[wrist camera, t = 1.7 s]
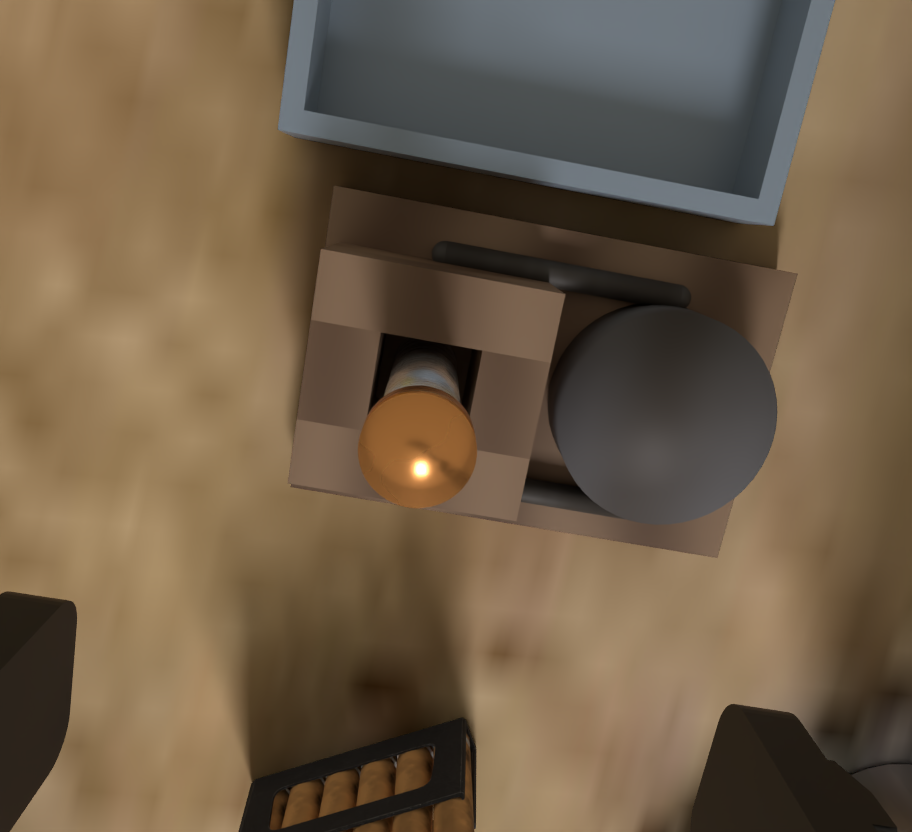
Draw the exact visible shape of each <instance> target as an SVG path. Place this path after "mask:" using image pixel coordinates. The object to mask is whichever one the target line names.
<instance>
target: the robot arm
mask: <svg viewBox="0 0 912 832" xmlns="http://www.w3.org/2000/svg"><path fill="white" fill-rule="evenodd" d="M76 627H77V611H76V607H75V604H74V603H73V602H72V601H68V600H62V599H55V598H49V597H42V596H35V595H29V594H22V593H16V592H4V593H2V594H1V595H0V832H10V830H11V829H12V827H13V826H14V824H15V823H16V822H17V820H18V819H19V817H20V816H21V814H22V813H23V811H24V810H25V808H26V807H27V805H28V804H29V803H30V801H31V800H32V798H33V797H34V795H35V794H36V792H37V791H38V789H39V788H40V786H41V785H42V783H43V782H44V781H45V779H46V778H47V776H48V775H49V773H50V771H51V770H52V768H53V766H54V764H55V762H56V760H57V758H58V756H59V753H60V751H61V748H62V745H63V742H64V739H65V735H66V731H67V727H68V722H69V715H70V704H71V691H72V678H73V665H74V652H75V640H76ZM690 832H912V765H910V764H889V765H883V766H878V767H873V768H868V769H865V770H863V771H860V772H858V773H855V774H853V775H850V774H849V773H848V772H847V771H845V770H844V769H843V768H842V767H841V766H839V765H838V764H837V763H836V762H835V761H830V760H827V759H826V758H825V756H824V755H823V753H822V752H821V751H820V749H819V748H818V746H817V745H816V743H815V742H814V741H813V739H812V738H811V736H810V735H809V733H808V732H807V730H806V729H805V728H804V726H803V725H802V723H801V722H800V720H799V719H798V718H797V717H796V716H795V715H794V714H792V713H789V712H783V711H776V710H770V709H763V708H757V707H750V706H744V705H737V704H731V705H729V706H727V707H726V708H725V710H724V711H723V713H722V715H721V717H720V719H719V722H718V725H717V729H716V732H715V735H714V739H713V742H712V746H711V749H710V752H709V756H708V759H707V762H706V766H705V769H704V772H703V776H702V779H701V782H700V786H699V789H698V793H697V796H696V799H695V803H694V806H693V810H692V816H691V831H690Z"/></svg>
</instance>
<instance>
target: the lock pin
mask: <svg viewBox="0 0 912 832" xmlns="http://www.w3.org/2000/svg"><path fill="white" fill-rule="evenodd" d="M358 459H359V464H360V467H361V470H362V473H363V475H364V477H365V479H366V480H367V482H368V483H369V485H370V486H371V487H372V488H373V489H374V490H375V491H376V492H377V493H378V494H379V495H380V496H382V497H383V498H385V499H386V500H388V501H390V502H392V503H394V504H397V505H400V506H404V507H410V508H426V507H432V506H435V505H439V504H441V503H443V502H446V501H447V500H449V499H451V498H452V497H454V496H455V495H456V494H458V493H459V492H460V491H461V490H462V489H463V487H464V486H465V485H466V484H467V482H468V481H469V479H470V477H471V475H472V473H473V471H474V468H475V464H476V459H477V444H476V437H475V431H474V427H473V423H472V421H471V418H470V416H469V414H468V413H467V411H466V409H465V408H464V407H463V406H462V404H461V403H460V395H459V386H458V376H457V367H456V358H455V354H454V351H453V349H452V348H451V346H450V345H449V344H443V343H438V342H432V341H426V340H421V339H415V338H410V337H409V338H407V339H406V340H405V341H404V342H403V343H402V344H401V345H400V347H399V349H398V350H397V353H396V356H395V360H394V363H393V366H392V370H391V373H390V377H389V380H388V384H387V387H386V391H385V394H384V397H382V398H381V399H380V400H379V401H378V402H377V403H376V404H375V405H374V406H373V407H372V409H371V410H370V412H369V414H368V415H367V417H366V420H365V422H364V425H363V428H362V431H361V434H360V437H359V442H358Z"/></svg>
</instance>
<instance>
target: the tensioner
mask: <svg viewBox="0 0 912 832" xmlns="http://www.w3.org/2000/svg"><path fill="white" fill-rule="evenodd" d="M796 278H797V274H796V273H791V272H786V271H781V270H776V269H770V268H765V267H760V266H755V265H749V264H744V263H739V262H734V261H728V260H723V259H718V258H713V257H707V256H702V255H697V254H692V253H686V252H681V251H676V250H670V249H665V248H660V247H655V246H649V245H644V244H639V243H634V242H628V241H623V240H618V239H613V238H607V237H602V236H597V235H592V234H586V233H581V232H576V231H571V230H565V229H560V228H555V227H550V226H544V225H539V224H534V223H529V222H523V221H518V220H513V219H508V218H502V217H497V216H492V215H487V214H481V213H476V212H471V211H466V210H460V209H455V208H450V207H445V206H439V205H434V204H429V203H424V202H418V201H413V200H408V199H403V198H397V197H392V196H387V195H382V194H376V193H371V192H366V191H361V190H355V189H350V188H345V187H340V186H334V188H333V195H332V202H331V209H330V216H329V223H328V230H327V237H326V244H325V248H322V249H321V252H320V259H319V266H318V273H317V280H316V287H315V294H314V301H313V308H312V315H311V322H310V329H309V336H308V343H307V351H306V358H305V365H304V372H303V379H302V386H301V393H300V400H299V407H298V414H297V421H296V428H295V435H294V442H293V449H292V456H291V463H290V470H289V477H288V483H289V484H291V487H294V488H300V489H306V490H312V491H318V492H324V493H330V494H336V495H342V496H348V497H354V498H360V499H366V500H372V501H378V502H384V503H390V504H394V503H392V502H390V501H388V500H386V499H385V498H383V497H382V496H380V495H379V494H378V493H377V492H376V491H375V490H374V489H373V488H372V487H371V486H370V485H369V483H368V482H367V480H366V479H365V477H364V475H363V473H362V470H361V467H360V464H359V459H358V442H359V437H360V434H361V431H362V428H363V425H364V422H365V420H366V417H367V415H368V414H369V412H370V410H371V409H372V407H373V406H374V405H375V404H376V403H377V402H378V401H379V400H380V399H381V398H382V397H384V394H385V391H386V387H387V384H388V380H389V377H390V373H391V370H392V366H393V363H394V360H395V356H396V353H397V350H398V349H399V347H400V345H401V344H402V343H403V342H404V341H405V340H406V339H407V338H409V337H410V338H415V339H421V340H426V341H432V342H438V343H443V344H449V345H450V346H451V348H452V349H453V351H454V354H455V358H456V367H457V376H458V386H459V395H460V403H461V404H462V406H463V407H464V408H465V409H466V411H467V413H468V414H469V416H470V418H471V421H472V423H473V427H474V431H475V437H476V444H477V459H476V464H475V468H474V471H473V473H472V475H471V477H470V479H469V481H468V482H467V484H466V485H465V486H464V487H463V489H462V490H461V491H460V492H459V493H458V494H456V495H455V496H454V497H452V498H451V499H449V500H447V501H446V502H443V503H441V504H439V505H435V506H432V507H426V508H420V509H426V510H432V511H438V512H444V513H450V514H456V515H462V516H468V517H474V518H480V519H486V520H492V521H498V522H504V523H510V524H517V525H523V526H529V527H535V528H541V529H547V530H553V531H559V532H565V533H571V534H577V535H583V536H589V537H595V538H601V539H607V540H613V541H619V542H625V543H631V544H637V545H643V546H649V547H655V548H661V549H667V550H673V551H679V552H685V553H691V554H697V555H703V556H709V557H715V558H717V557H718V554H719V550H720V547H721V543H722V540H723V536H724V533H725V529H726V526H727V522H728V519H729V515H730V511H731V508H732V504H733V501H734V498H735V497H736V496H737V495H738V494H739V493H741V492H742V491H743V490H744V489H745V488H746V487H747V485H748V484H749V483H750V482H751V481H752V480H753V479H754V477H755V476H756V474H757V473H758V471H759V470H760V468H761V467H762V465H763V463H764V461H765V459H766V457H767V455H768V453H769V450H770V448H771V445H772V442H773V438H774V434H775V429H776V422H777V399H776V394H775V388H774V384H773V381H772V378H771V375H770V370H771V366H772V363H773V359H774V356H775V352H776V349H777V345H778V342H779V338H780V334H781V331H782V327H783V324H784V320H785V317H786V313H787V310H788V306H789V303H790V299H791V296H792V292H793V288H794V285H795V281H796ZM396 505H397V504H396Z"/></svg>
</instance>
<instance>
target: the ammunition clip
mask: <svg viewBox="0 0 912 832" xmlns="http://www.w3.org/2000/svg"><path fill="white" fill-rule="evenodd" d="M475 828H476V747H475V744H474V741H473V739H472V736H471V733H470V730H469V728H468V725H467V722H466V720H465V719H464V718H463V717H462V718H459V719H456V720H452V721H449V722H446V723H442V724H439V725H436V726H432V727H429V728H426V729H422V730H419V731H416V732H412V733H409V734H406V735H402V736H399V737H396V738H392V739H389V740H386V741H382V742H379V743H376V744H372V745H369V746H366V747H362V748H359V749H355V750H352V751H349V752H345V753H342V754H339V755H335V756H332V757H329V758H325V759H322V760H319V761H315V762H312V763H309V764H305V765H302V766H299V767H295V768H292V769H289V770H285V771H282V772H279V773H275V774H272V775H269V776H265V777H262V778H259V779H255V780H254V781H253V783H252V784H251V787H250V791H249V794H248V798H247V802H246V806H245V809H244V813H243V817H242V821H241V824H240V828H239V832H474V829H475Z"/></svg>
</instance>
